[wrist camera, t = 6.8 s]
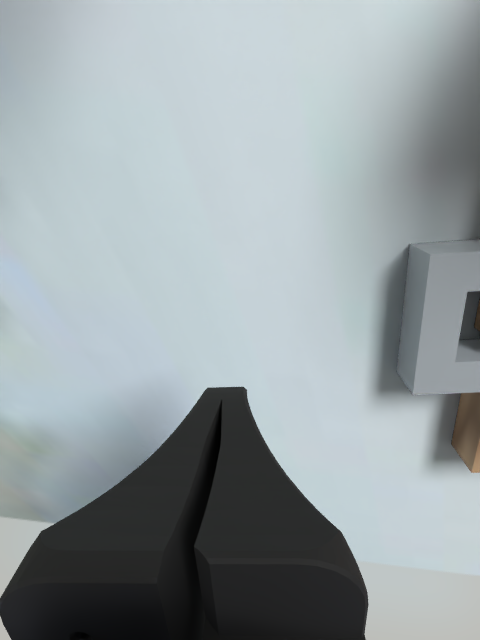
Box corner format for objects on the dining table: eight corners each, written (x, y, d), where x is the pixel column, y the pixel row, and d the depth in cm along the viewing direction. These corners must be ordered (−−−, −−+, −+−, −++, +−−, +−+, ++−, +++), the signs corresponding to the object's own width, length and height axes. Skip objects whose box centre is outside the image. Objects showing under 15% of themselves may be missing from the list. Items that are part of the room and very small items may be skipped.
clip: (513, 366, 22) (543, 389, 20) (396, 371, 22) (412, 395, 20) (546, 234, 19) (587, 243, 16) (409, 244, 19) (430, 254, 17)
